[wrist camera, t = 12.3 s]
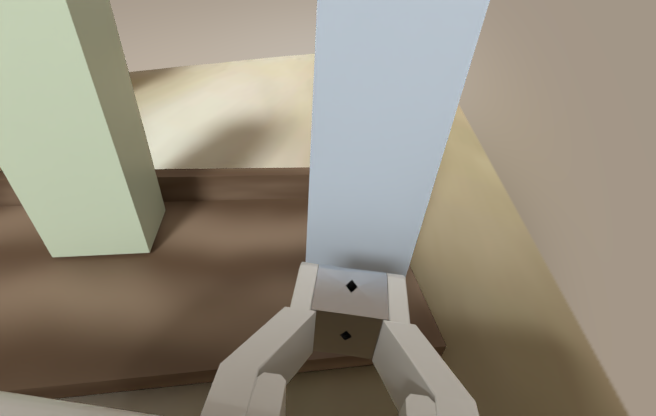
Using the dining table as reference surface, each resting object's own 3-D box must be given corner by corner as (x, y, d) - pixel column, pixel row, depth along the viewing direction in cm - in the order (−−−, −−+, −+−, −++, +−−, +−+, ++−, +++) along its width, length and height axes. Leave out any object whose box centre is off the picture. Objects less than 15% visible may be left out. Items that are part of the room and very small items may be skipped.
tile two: (398, 301, 18) (497, -24, 10) (304, 288, 18) (318, -40, 10) (394, 246, 21) (465, -30, 13) (315, 236, 22) (334, -41, 13)
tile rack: (440, 357, 17) (458, 320, 15) (-539, 462, 11) (-692, 424, 10) (371, 195, 28) (377, 163, 26) (-146, 209, 22) (-184, 169, 21)
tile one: (149, 252, 20) (44, -66, 11) (52, 257, 19) (-142, -81, 10) (166, 208, 23) (95, -63, 14) (84, 210, 22) (-43, -75, 14)
